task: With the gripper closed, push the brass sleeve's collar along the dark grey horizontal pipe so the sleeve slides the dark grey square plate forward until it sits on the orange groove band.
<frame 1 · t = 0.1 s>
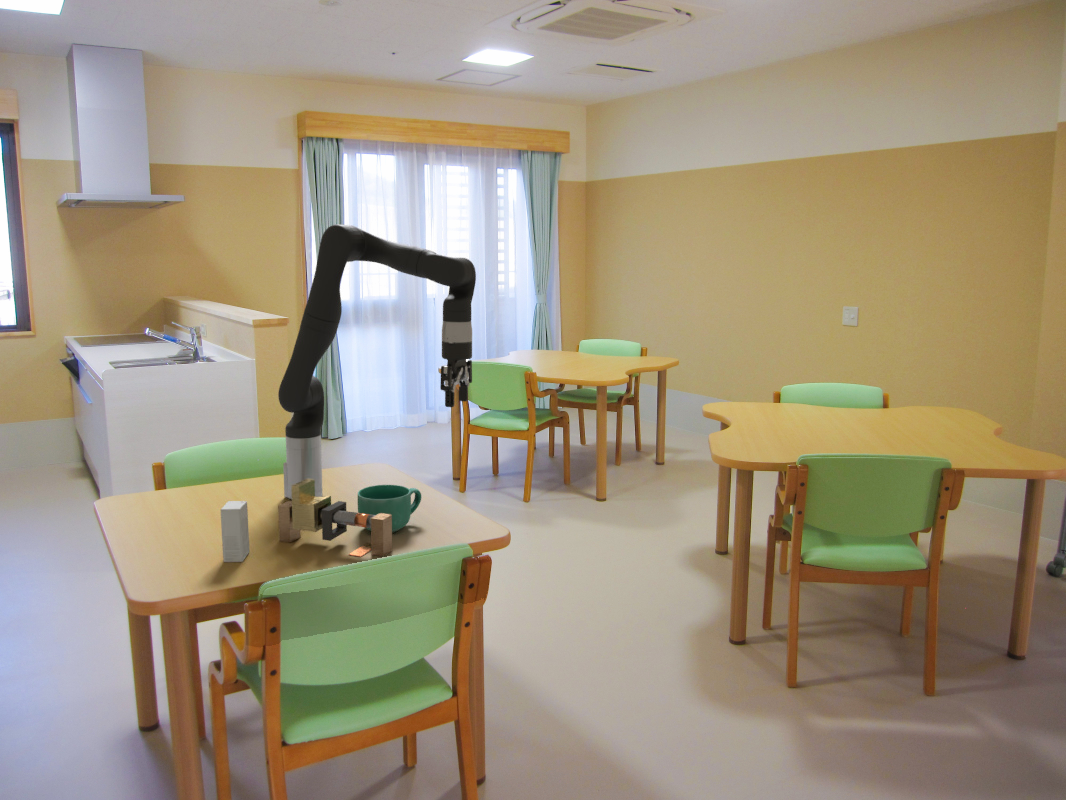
hand: (456, 403, 204), 29 cm above the table, fingers open, 8 cm apart
mug: (391, 528, 199), on the table
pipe: (335, 545, 186), on the table
dark grey square plate: (334, 520, 185), point 6 cm above the table, touching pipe
sleeve: (311, 504, 186), point 9 cm above the table, slide at 0.0 cm
skincare box: (236, 558, 178), on the table
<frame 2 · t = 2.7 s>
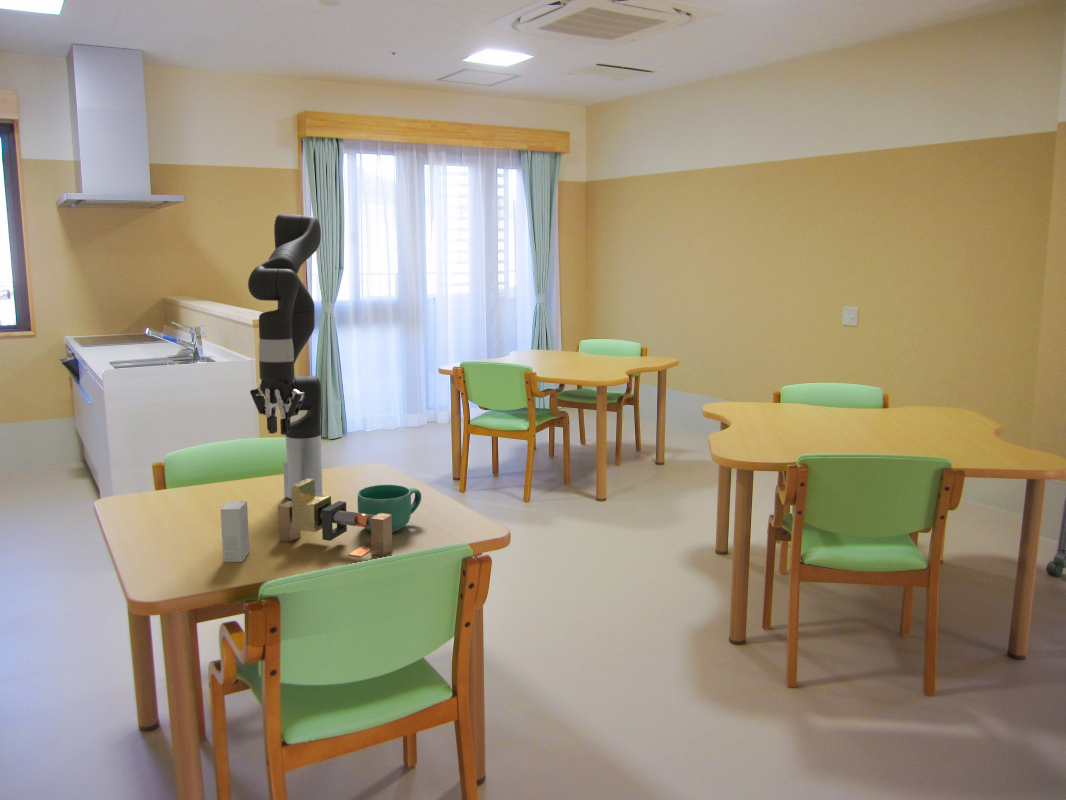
hand: (279, 433, 186), 25 cm above the table, fingers closed
nothing on the table moved.
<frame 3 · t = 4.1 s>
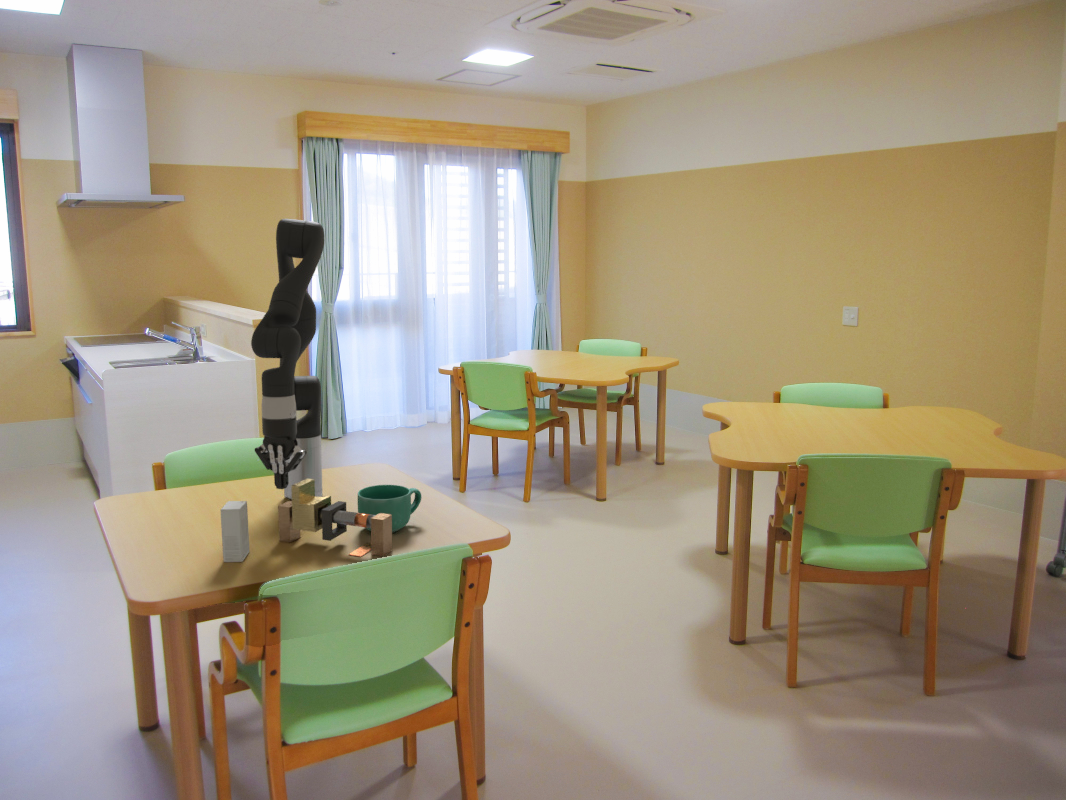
hand: (281, 488, 188), 12 cm above the table, fingers closed
nothing on the table moved.
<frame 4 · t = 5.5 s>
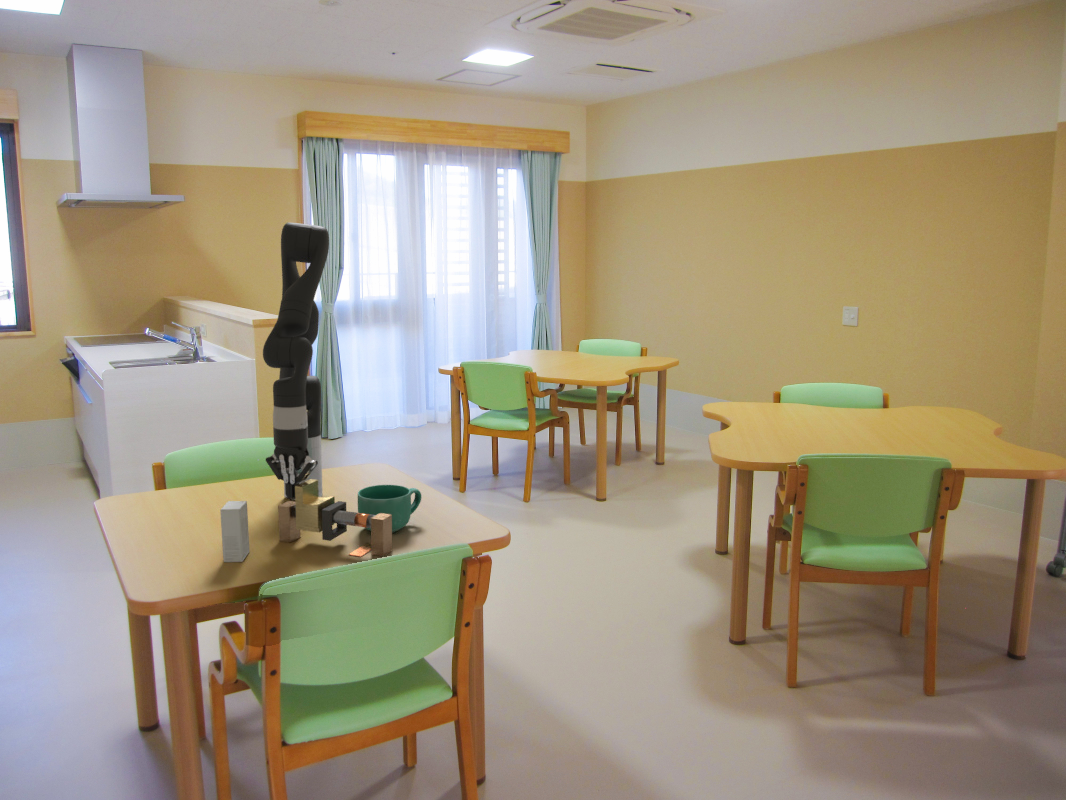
hand: (292, 498, 188), 10 cm above the table, fingers closed
sleeve: (314, 505, 186), point 9 cm above the table, slide at 1.0 cm, touching gripper
everything else where it was.
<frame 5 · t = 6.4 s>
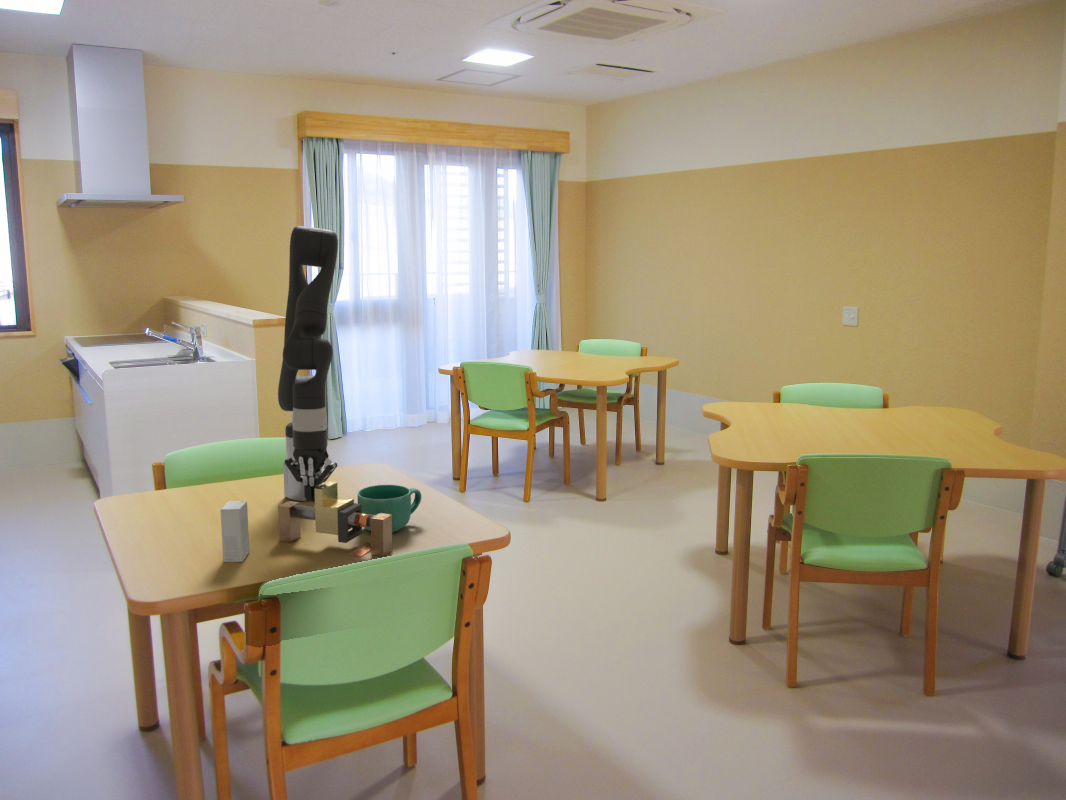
hand: (311, 500, 186), 10 cm above the table, fingers closed
dark grey square plate: (350, 522, 184), point 6 cm above the table, touching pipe, sleeve
sleeve: (334, 507, 185), point 9 cm above the table, slide at 6.0 cm, touching gripper, dark grey square plate
everything else where it was.
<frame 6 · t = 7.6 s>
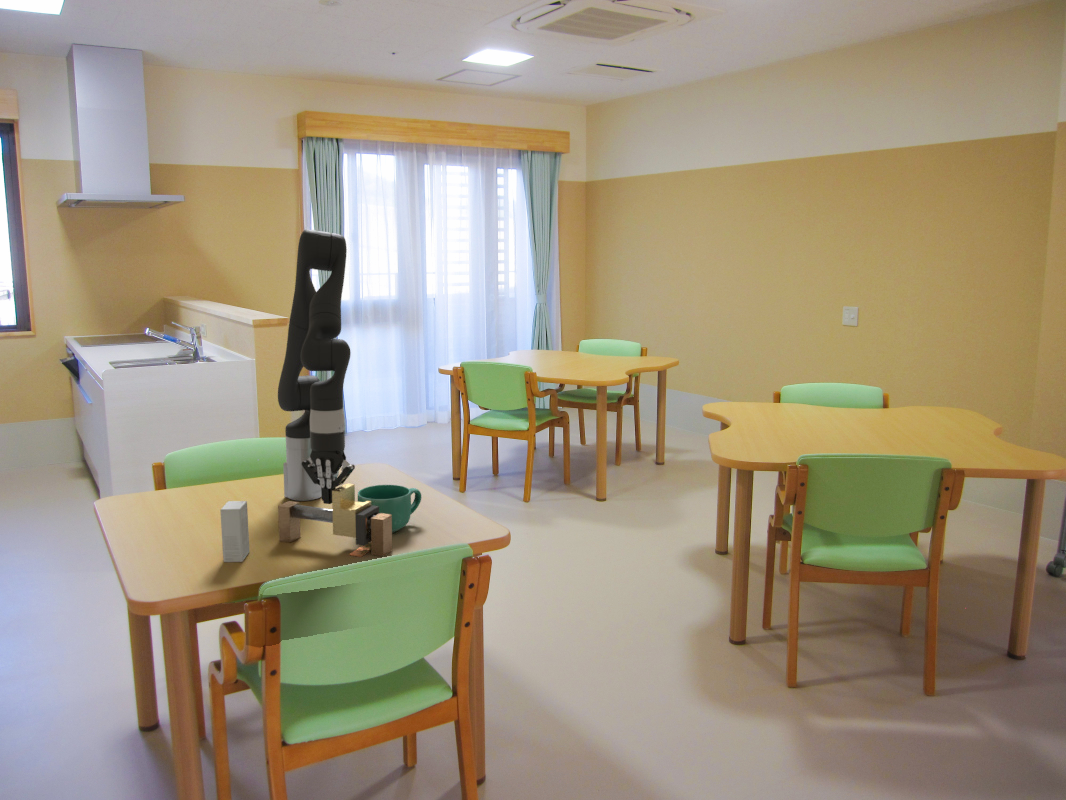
hand: (328, 502, 185), 10 cm above the table, fingers closed
dark grey square plate: (367, 525, 183), point 6 cm above the table, touching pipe, sleeve
sleeve: (351, 510, 183), point 9 cm above the table, slide at 10.5 cm, touching gripper, dark grey square plate
everything else where it was.
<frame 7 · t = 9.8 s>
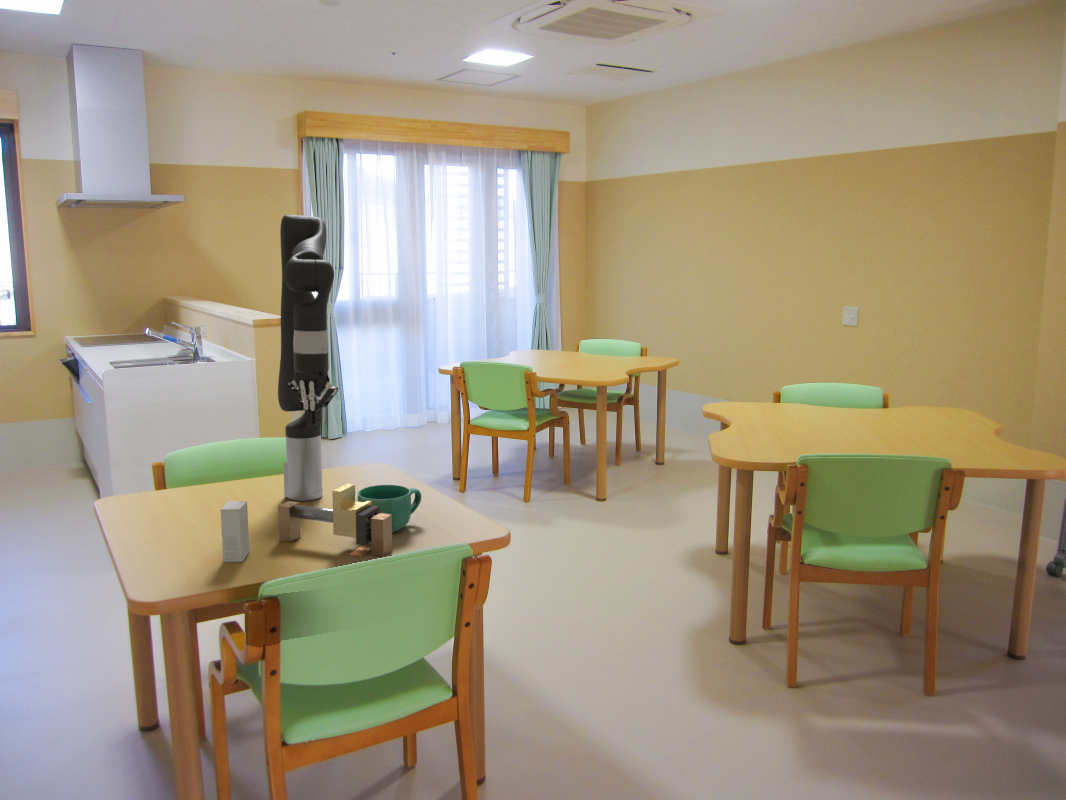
hand: (312, 425, 185), 27 cm above the table, fingers closed
sleeve: (352, 510, 183), point 9 cm above the table, slide at 10.6 cm, touching dark grey square plate
everything else where it was.
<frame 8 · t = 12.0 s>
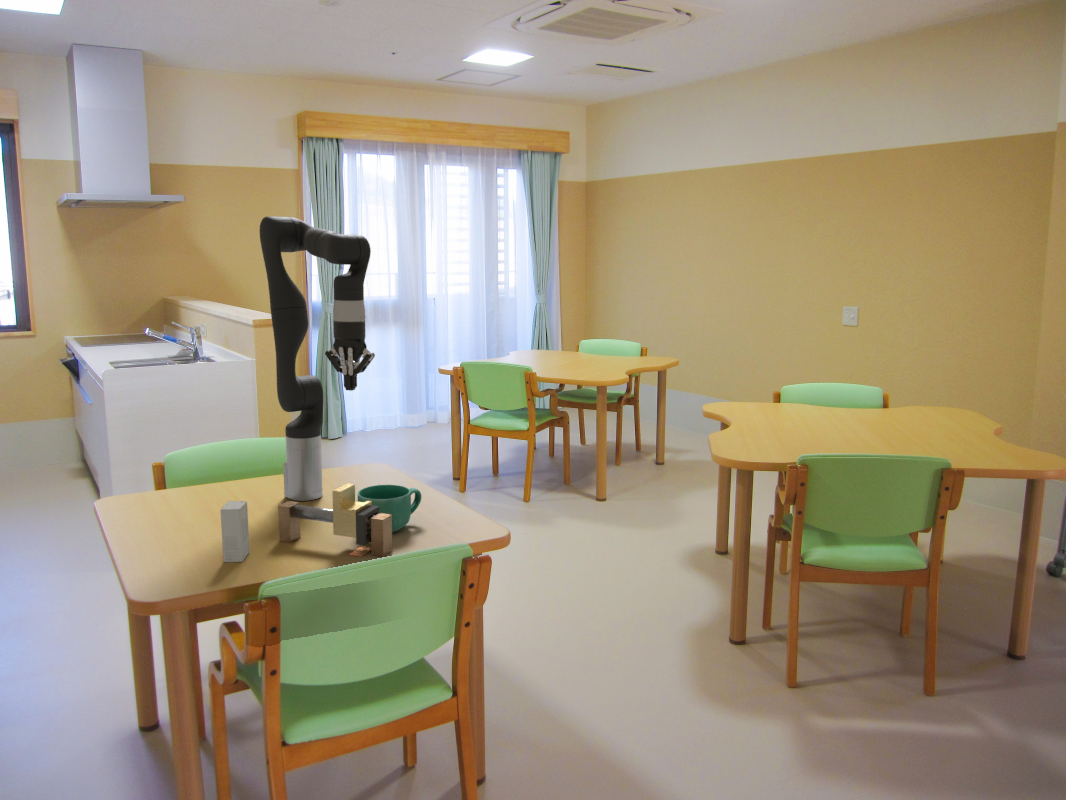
hand: (350, 389, 199), 33 cm above the table, fingers closed
nothing on the table moved.
at the end: sleeve slide at 10.6 cm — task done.
